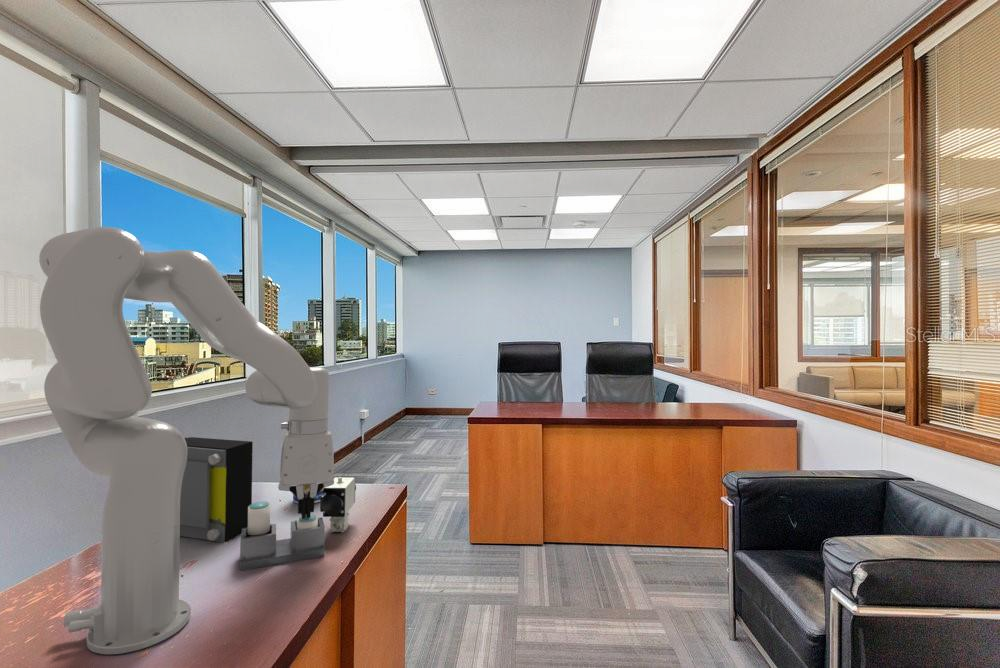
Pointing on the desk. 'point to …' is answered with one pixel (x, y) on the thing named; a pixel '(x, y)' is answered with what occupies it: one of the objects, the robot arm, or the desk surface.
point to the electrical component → (216, 489)
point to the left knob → (259, 518)
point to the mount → (281, 546)
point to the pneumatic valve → (338, 502)
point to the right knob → (307, 522)
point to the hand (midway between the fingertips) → (305, 515)
